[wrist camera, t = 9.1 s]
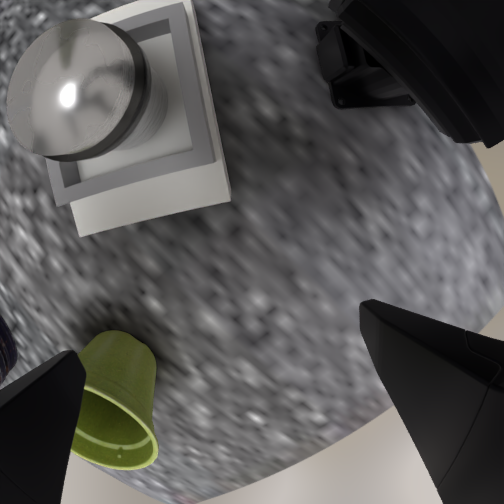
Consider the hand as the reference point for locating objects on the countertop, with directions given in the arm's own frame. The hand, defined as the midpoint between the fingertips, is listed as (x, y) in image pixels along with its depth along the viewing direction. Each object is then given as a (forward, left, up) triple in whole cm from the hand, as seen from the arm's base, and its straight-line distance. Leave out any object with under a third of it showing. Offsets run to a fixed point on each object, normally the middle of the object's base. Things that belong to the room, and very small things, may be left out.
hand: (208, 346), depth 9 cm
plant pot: (+11, +9, -13) cm, 19 cm away
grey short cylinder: (+4, -9, -9) cm, 13 cm away
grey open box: (+4, -9, -13) cm, 16 cm away
